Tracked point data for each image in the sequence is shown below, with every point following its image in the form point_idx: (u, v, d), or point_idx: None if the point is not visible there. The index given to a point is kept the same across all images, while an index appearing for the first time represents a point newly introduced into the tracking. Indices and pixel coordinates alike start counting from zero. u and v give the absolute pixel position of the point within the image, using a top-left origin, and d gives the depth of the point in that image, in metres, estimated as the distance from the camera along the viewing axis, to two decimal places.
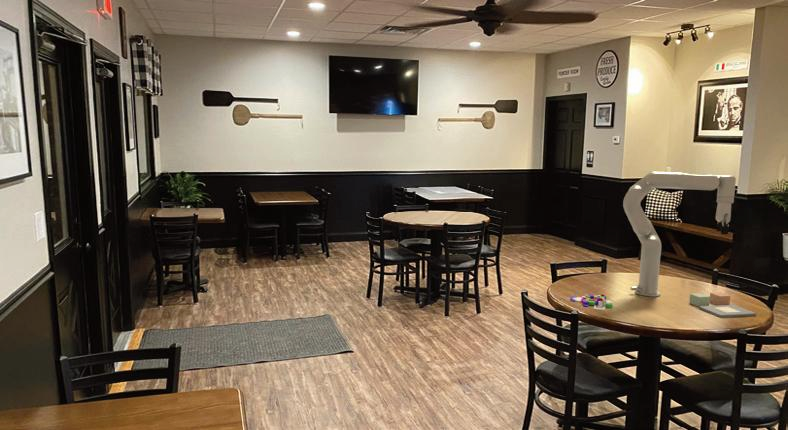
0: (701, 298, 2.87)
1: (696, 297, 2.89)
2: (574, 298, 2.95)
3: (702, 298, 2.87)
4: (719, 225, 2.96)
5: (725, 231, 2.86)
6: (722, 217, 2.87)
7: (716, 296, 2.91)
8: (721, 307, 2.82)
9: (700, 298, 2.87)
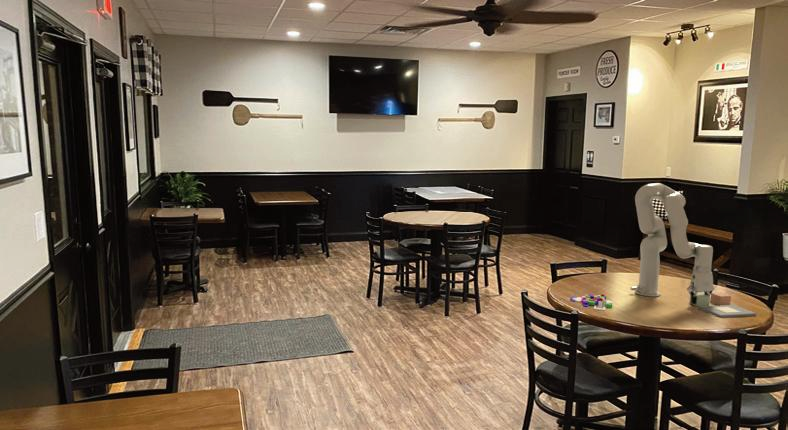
0: (701, 298, 2.87)
1: None
2: (574, 298, 2.95)
3: (702, 298, 2.87)
4: None
5: None
6: None
7: (717, 296, 2.91)
8: (721, 307, 2.82)
9: (700, 298, 2.87)
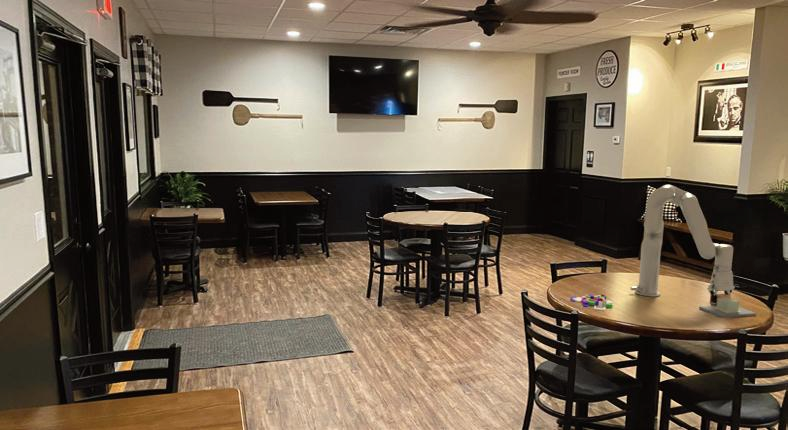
0: (730, 303, 2.74)
1: (724, 302, 2.76)
2: (574, 298, 2.95)
3: (731, 303, 2.74)
4: None
5: None
6: None
7: (717, 296, 2.91)
8: None
9: (729, 303, 2.74)
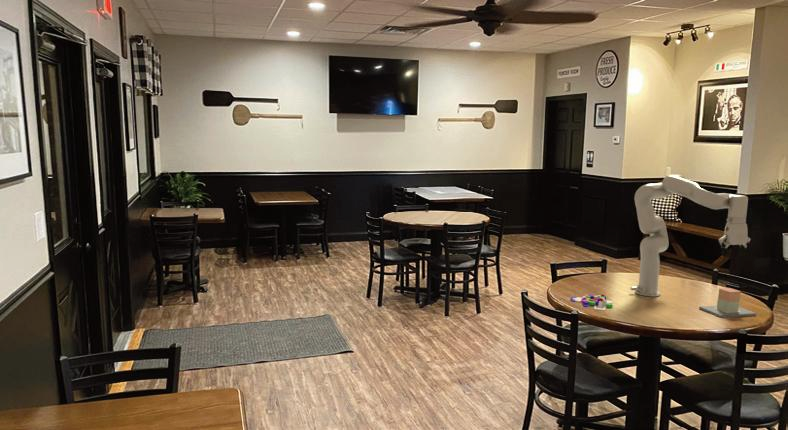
0: (730, 303, 2.74)
1: (724, 302, 2.76)
2: (574, 298, 2.95)
3: (731, 303, 2.74)
4: None
5: None
6: None
7: (726, 292, 2.75)
8: None
9: (729, 303, 2.74)
